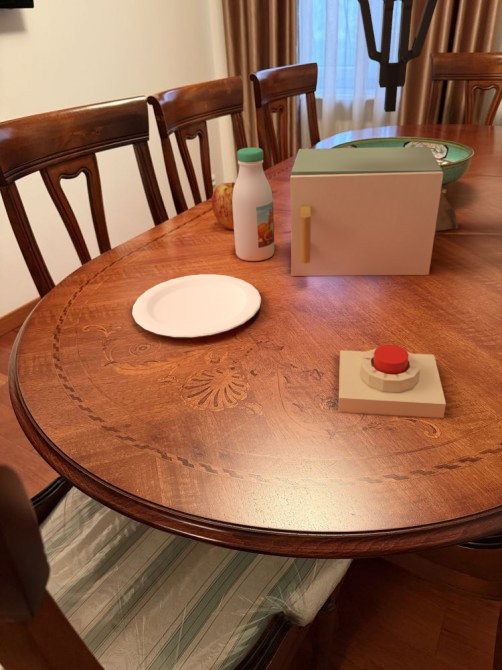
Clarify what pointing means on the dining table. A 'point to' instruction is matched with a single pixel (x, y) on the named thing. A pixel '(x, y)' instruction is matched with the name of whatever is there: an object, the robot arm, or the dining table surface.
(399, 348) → the button
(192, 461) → the dining table surface
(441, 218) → the rock
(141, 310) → the plate
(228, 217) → the apple
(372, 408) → the button base
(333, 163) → the cupboard
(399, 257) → the door
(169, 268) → the dining table surface
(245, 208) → the milk bottle
